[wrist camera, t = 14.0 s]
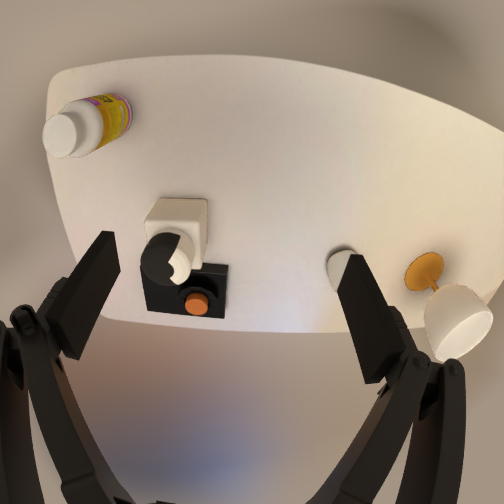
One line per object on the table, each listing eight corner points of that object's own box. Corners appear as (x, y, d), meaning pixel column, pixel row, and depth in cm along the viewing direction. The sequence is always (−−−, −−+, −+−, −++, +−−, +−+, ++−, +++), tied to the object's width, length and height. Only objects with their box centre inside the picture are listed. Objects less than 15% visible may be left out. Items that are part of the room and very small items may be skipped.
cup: (397, 257, 46) (441, 329, 31) (450, 238, 43) (501, 299, 29) (398, 302, 52) (430, 370, 37) (445, 284, 50) (483, 344, 35)
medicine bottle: (162, 240, 43) (139, 291, 33) (158, 197, 39) (129, 241, 29) (207, 242, 44) (196, 295, 34) (207, 198, 40) (192, 244, 30)
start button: (186, 307, 46) (185, 314, 45) (185, 291, 44) (184, 298, 43) (208, 309, 47) (207, 316, 45) (208, 293, 45) (207, 300, 43)
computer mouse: (335, 294, 50) (338, 305, 47) (319, 252, 45) (323, 263, 42) (365, 282, 48) (370, 293, 46) (353, 239, 43) (359, 249, 41)
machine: (150, 301, 51) (145, 317, 47) (143, 257, 45) (136, 272, 42) (225, 309, 51) (223, 325, 48) (228, 265, 46) (226, 281, 43)
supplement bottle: (134, 91, 31) (85, 101, 20) (132, 138, 34) (86, 167, 24) (91, 94, 30) (34, 108, 19) (91, 139, 34) (38, 168, 23)
